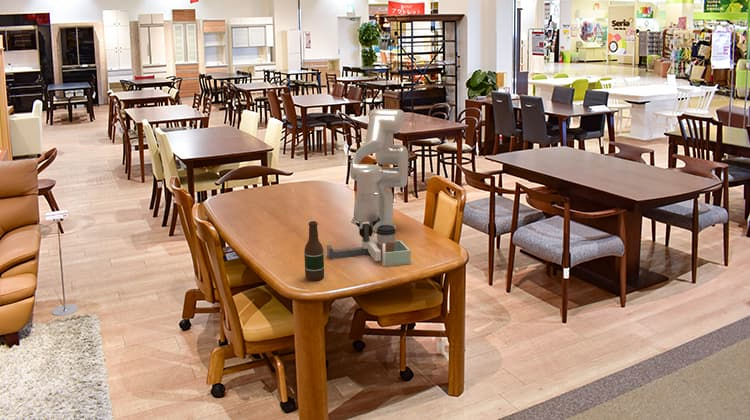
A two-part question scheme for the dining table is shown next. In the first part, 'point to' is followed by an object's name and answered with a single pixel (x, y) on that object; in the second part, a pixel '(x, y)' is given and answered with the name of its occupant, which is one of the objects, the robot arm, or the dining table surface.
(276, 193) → the dining table surface
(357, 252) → the rail
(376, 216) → the robot arm
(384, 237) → the coffee cup
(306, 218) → the dining table surface
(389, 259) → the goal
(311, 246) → the beer bottle
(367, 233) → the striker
